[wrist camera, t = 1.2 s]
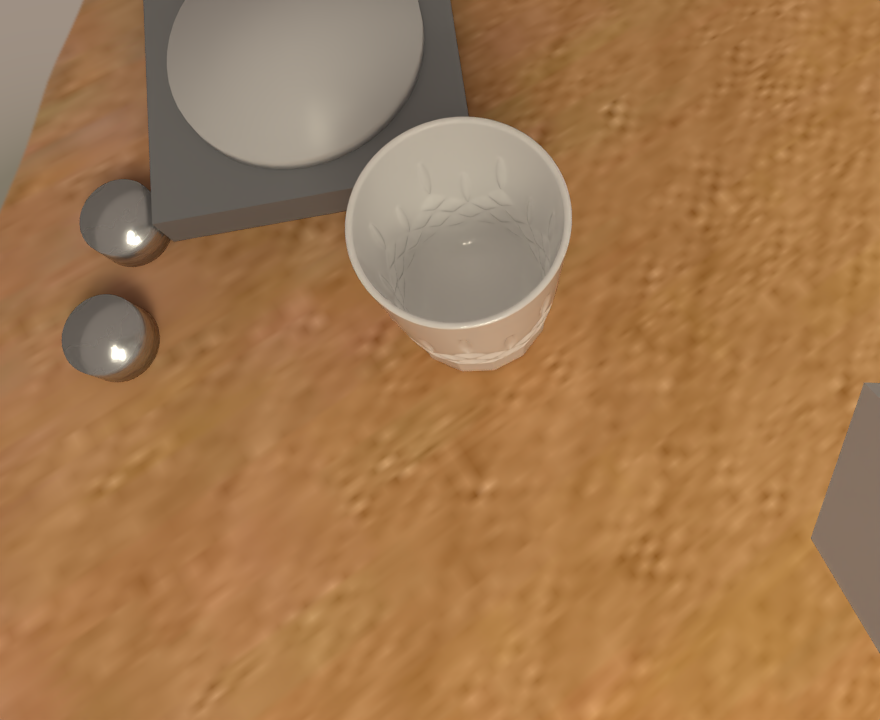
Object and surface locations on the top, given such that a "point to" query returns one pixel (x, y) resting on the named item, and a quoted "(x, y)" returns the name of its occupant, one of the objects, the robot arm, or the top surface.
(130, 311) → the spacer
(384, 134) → the scale
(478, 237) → the white cup
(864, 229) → the top surface
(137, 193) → the cylinder
